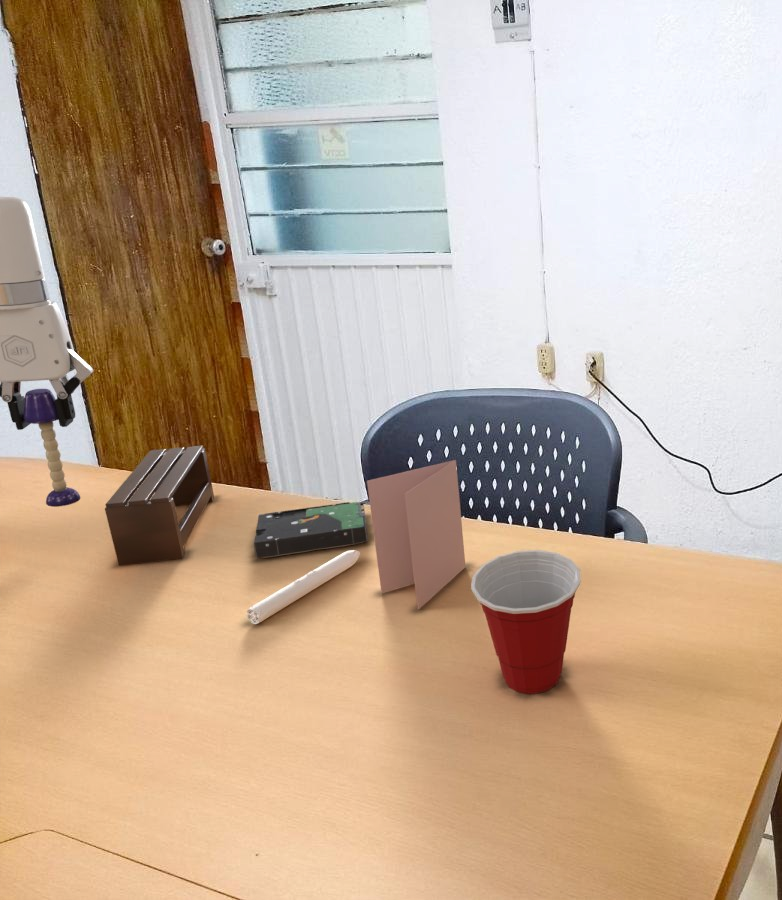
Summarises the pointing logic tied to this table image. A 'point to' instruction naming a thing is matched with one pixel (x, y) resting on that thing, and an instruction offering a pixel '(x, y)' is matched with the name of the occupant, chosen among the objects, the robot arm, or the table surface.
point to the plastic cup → (528, 614)
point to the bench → (159, 505)
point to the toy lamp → (49, 443)
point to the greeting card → (418, 529)
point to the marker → (301, 587)
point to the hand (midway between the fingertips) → (45, 424)
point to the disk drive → (310, 529)
